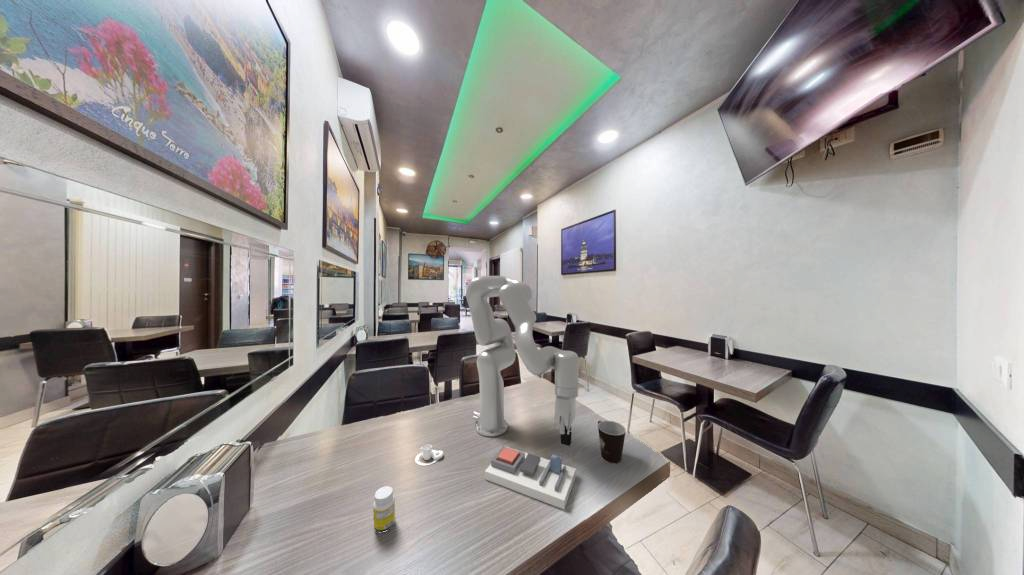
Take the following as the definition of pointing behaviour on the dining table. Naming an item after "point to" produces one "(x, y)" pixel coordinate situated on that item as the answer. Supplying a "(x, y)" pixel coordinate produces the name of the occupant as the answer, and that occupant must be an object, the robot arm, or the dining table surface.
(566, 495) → the panel
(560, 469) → the paddle
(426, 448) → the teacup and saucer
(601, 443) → the coffee mug
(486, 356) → the robot arm
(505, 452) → the button
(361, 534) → the dining table surface
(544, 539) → the dining table surface
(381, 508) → the supplement bottle
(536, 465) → the block
